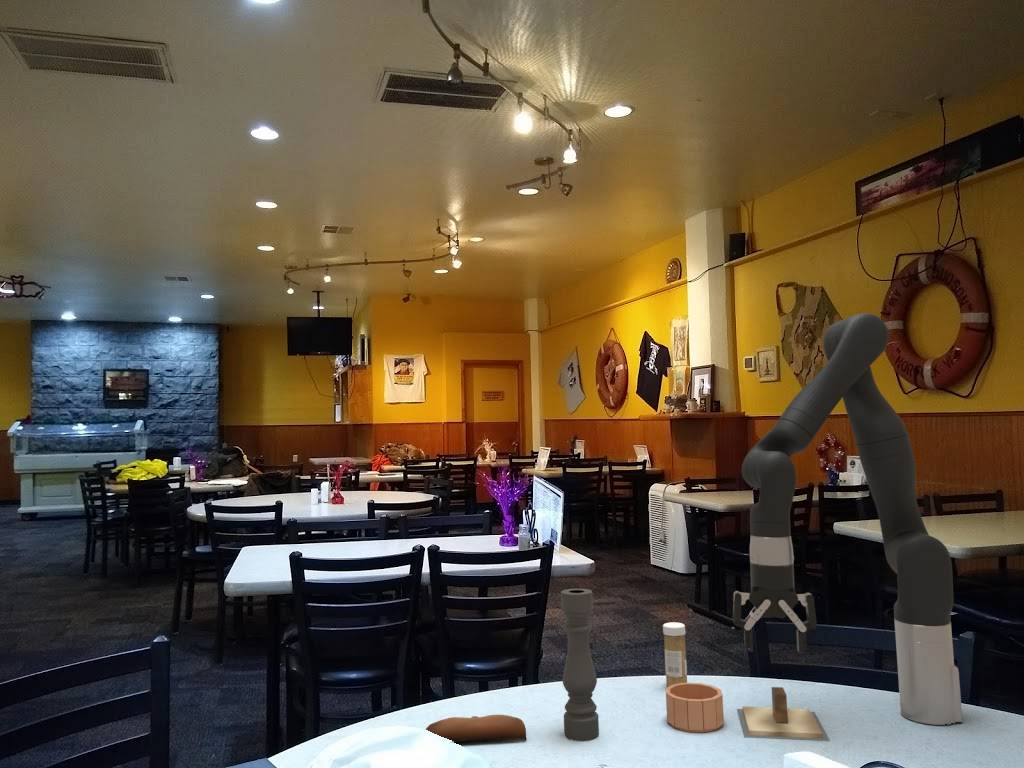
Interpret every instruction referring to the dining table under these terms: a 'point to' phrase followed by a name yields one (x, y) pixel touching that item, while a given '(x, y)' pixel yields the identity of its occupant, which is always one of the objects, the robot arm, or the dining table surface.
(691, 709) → the wooden bowl
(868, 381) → the robot arm
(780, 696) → the birch cover
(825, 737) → the rubber mat
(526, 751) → the dining table surface
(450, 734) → the sunglasses case
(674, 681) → the sprinkles bottle
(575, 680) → the candle holder
